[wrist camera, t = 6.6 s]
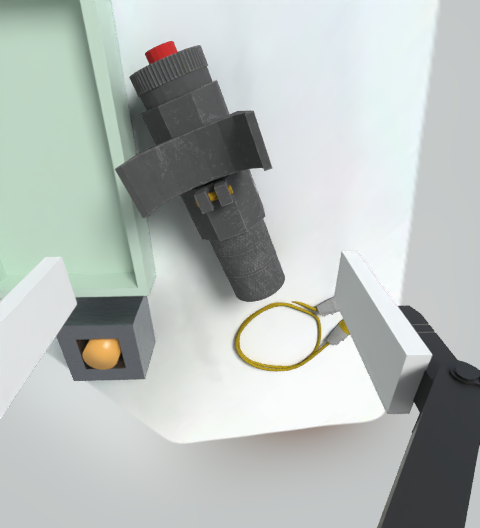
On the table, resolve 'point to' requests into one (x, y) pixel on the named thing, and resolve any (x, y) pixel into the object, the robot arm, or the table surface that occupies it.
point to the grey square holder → (109, 336)
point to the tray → (67, 150)
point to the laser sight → (204, 166)
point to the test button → (102, 353)
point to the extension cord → (334, 337)
